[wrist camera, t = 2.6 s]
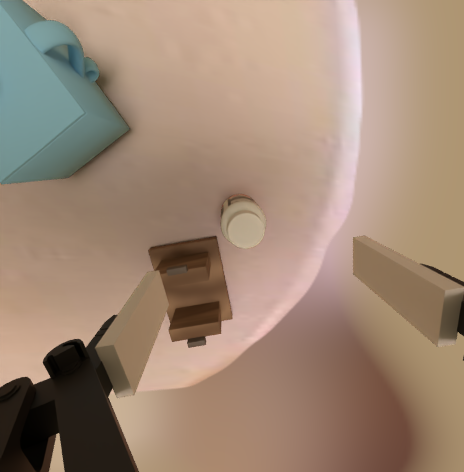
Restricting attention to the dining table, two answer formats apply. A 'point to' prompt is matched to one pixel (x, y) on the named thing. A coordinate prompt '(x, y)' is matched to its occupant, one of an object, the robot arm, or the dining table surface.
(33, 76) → the teapot
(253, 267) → the dining table surface
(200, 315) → the cradle
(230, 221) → the pill bottle
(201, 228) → the dining table surface
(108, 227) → the dining table surface
